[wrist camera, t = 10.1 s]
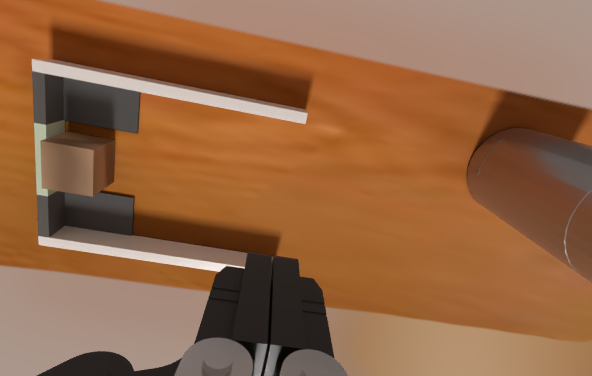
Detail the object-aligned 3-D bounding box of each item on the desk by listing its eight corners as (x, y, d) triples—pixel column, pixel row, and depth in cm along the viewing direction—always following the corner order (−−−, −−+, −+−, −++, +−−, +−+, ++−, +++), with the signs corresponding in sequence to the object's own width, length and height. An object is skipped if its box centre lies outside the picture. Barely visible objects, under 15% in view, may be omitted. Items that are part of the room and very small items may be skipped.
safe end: (65, 119, 35) (46, 124, 32) (65, 186, 37) (47, 196, 34) (54, 117, 35) (34, 122, 32) (55, 184, 37) (36, 194, 34)
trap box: (305, 109, 36) (307, 113, 33) (273, 264, 41) (273, 279, 38) (53, 59, 33) (31, 58, 30) (56, 231, 39) (38, 244, 36)
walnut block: (115, 139, 36) (93, 150, 32) (114, 181, 37) (92, 196, 33) (69, 131, 36) (40, 140, 31) (69, 174, 37) (41, 188, 33)
